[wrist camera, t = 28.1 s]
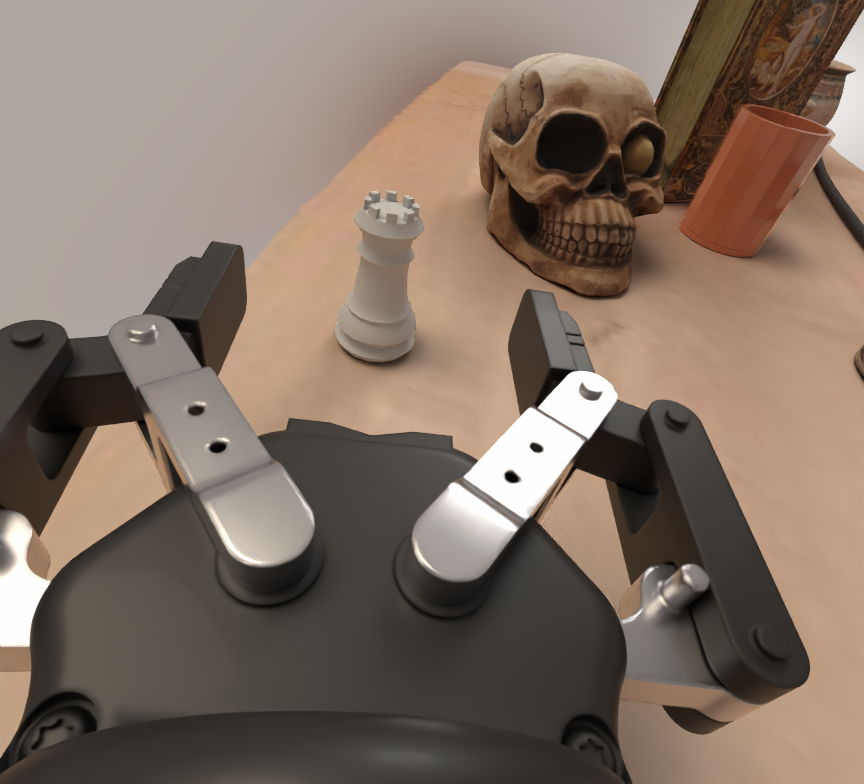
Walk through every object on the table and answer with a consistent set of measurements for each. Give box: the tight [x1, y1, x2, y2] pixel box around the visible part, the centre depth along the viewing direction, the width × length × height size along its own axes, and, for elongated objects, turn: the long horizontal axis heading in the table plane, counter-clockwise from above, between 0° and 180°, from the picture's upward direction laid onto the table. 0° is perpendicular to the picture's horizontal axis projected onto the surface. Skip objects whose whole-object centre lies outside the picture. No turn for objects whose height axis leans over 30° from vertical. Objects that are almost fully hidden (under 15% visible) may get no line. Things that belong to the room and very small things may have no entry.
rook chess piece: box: [335, 190, 424, 363], centre depth 26 cm, size 4×4×8 cm
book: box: [654, 0, 864, 202], centre depth 50 cm, size 16×6×25 cm, turn 116°
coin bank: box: [479, 53, 667, 296], centre depth 41 cm, size 16×17×13 cm
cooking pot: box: [799, 60, 856, 126], centre depth 74 cm, size 25×19×12 cm
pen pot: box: [679, 104, 835, 257], centre depth 46 cm, size 7×7×10 cm
